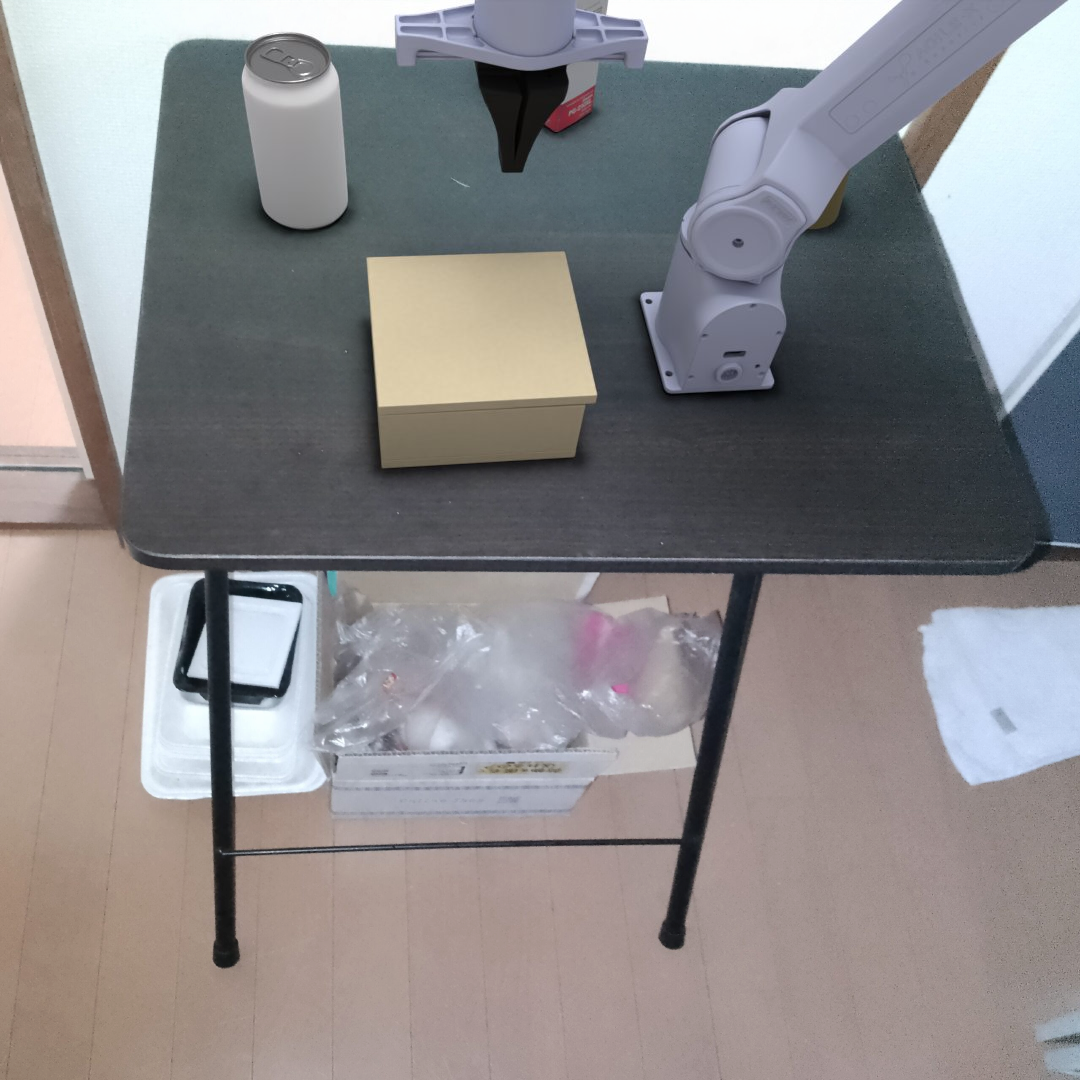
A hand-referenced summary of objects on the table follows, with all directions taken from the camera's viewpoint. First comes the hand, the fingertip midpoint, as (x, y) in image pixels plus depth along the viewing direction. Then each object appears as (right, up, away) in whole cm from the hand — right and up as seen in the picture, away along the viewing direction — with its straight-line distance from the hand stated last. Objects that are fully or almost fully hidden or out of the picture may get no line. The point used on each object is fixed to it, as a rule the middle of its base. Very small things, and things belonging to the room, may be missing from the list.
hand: (510, 162), depth 64 cm
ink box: (+2, +13, +21) cm, 25 cm away
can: (-16, +1, +11) cm, 20 cm away
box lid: (-2, -11, -1) cm, 12 cm away
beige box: (-3, -14, +3) cm, 15 cm away
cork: (+24, +3, +17) cm, 29 cm away
